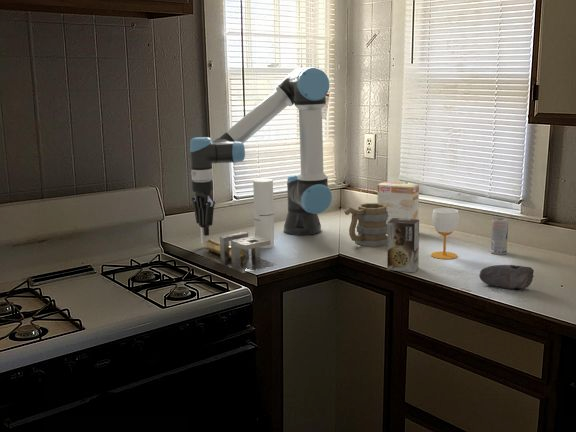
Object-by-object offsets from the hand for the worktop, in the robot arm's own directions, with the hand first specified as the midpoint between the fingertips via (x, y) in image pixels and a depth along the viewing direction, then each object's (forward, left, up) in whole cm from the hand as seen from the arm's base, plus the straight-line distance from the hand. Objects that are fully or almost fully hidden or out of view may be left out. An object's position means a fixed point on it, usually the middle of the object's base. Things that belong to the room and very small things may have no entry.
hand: (205, 243), depth 236 cm
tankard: (-49, +34, -2) cm, 59 cm away
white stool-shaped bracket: (0, +30, -1) cm, 30 cm away
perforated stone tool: (-45, +97, -2) cm, 107 cm away
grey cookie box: (-36, +65, -2) cm, 74 cm away
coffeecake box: (-71, +30, -2) cm, 77 cm away
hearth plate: (0, +19, -2) cm, 19 cm away
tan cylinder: (0, +15, -1) cm, 15 cm away
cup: (-58, +64, -2) cm, 86 cm away
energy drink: (-75, +74, -2) cm, 105 cm away
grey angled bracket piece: (0, +20, -1) cm, 20 cm away
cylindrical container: (-18, +13, -2) cm, 22 cm away
